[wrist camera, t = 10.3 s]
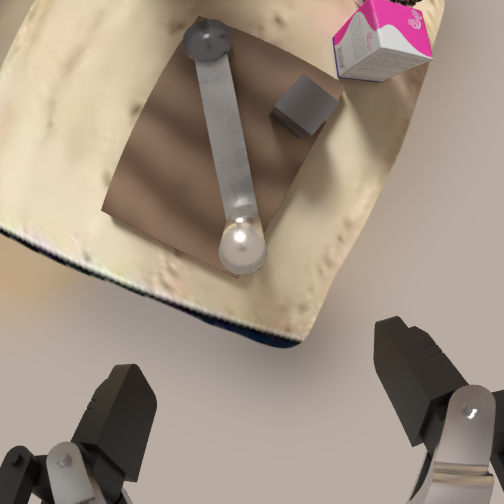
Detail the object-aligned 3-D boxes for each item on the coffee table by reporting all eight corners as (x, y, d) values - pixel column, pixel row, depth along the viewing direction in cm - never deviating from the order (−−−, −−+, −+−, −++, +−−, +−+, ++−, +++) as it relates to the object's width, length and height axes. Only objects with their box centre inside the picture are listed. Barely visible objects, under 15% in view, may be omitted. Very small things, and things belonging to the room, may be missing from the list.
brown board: (201, 22, 25) (189, -9, 17) (340, 89, 28) (367, 73, 20) (108, 207, 32) (74, 223, 24) (238, 271, 35) (236, 304, 27)
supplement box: (382, 83, 27) (435, 62, 17) (336, 78, 27) (377, 48, 17) (376, 42, 25) (423, 9, 15) (331, 36, 25) (366, -6, 15)
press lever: (188, 41, 24) (159, -9, 13) (229, 32, 23) (221, -24, 13) (226, 233, 31) (215, 279, 20) (267, 226, 31) (278, 268, 20)
